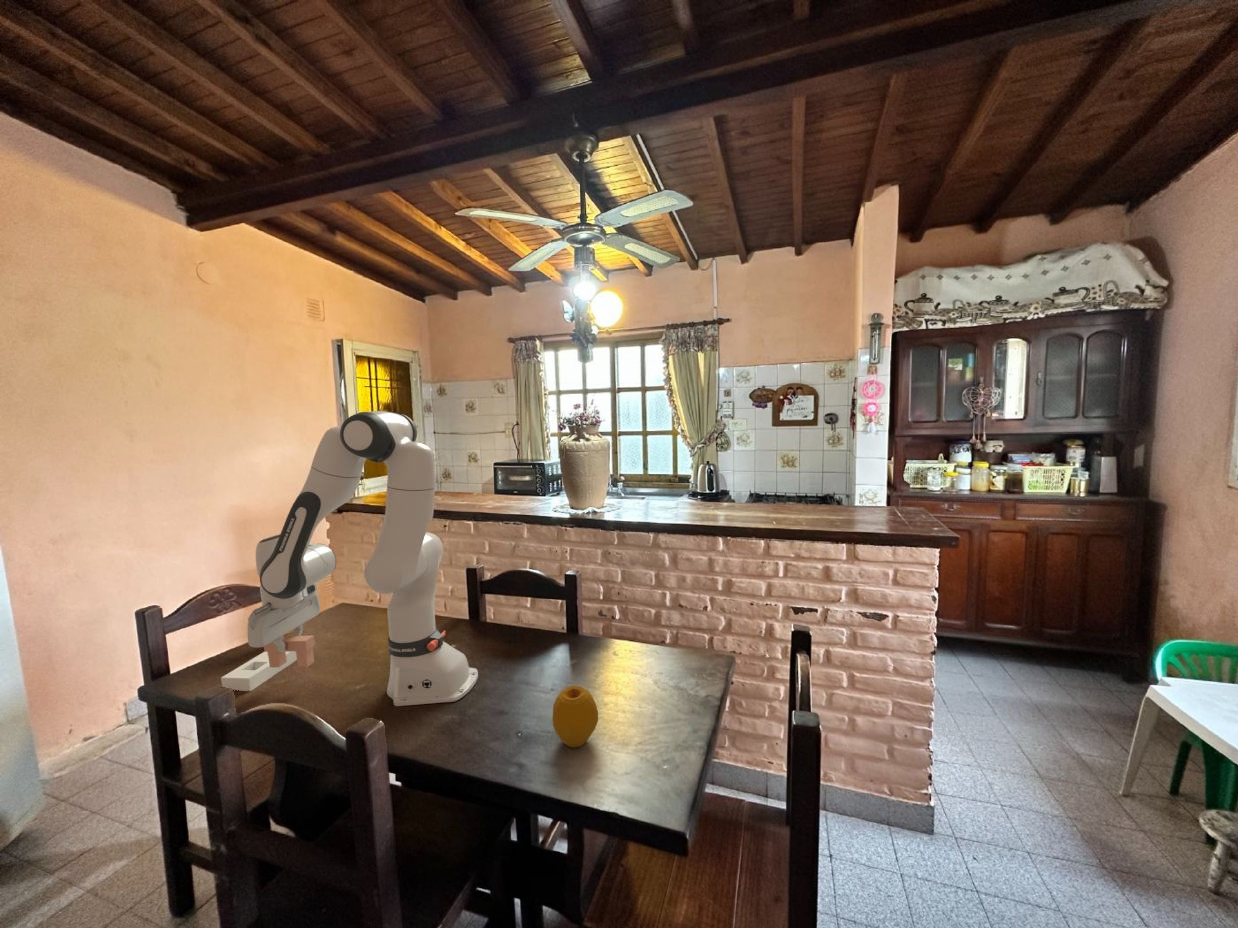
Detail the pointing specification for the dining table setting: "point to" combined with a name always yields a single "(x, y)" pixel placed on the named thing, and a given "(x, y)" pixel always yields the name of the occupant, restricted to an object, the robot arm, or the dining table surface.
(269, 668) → the slot rail
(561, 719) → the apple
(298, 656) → the prong clip
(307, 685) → the dining table surface
